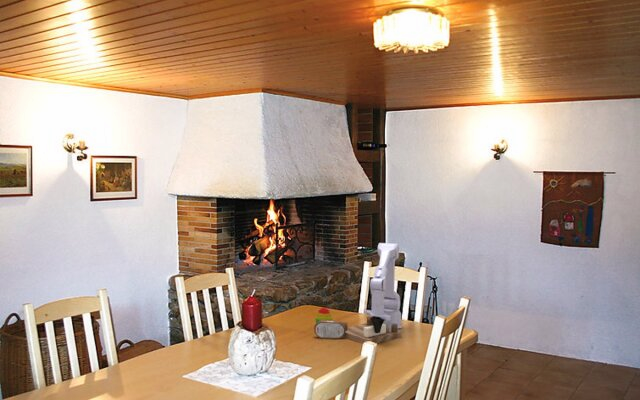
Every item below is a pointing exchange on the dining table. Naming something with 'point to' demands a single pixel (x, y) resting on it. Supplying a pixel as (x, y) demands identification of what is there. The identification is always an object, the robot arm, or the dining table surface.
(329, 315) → the decorative egg
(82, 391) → the dining table surface
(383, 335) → the stool seat
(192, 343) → the dining table surface
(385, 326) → the folding leg
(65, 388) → the dining table surface
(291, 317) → the dining table surface
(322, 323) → the tin
